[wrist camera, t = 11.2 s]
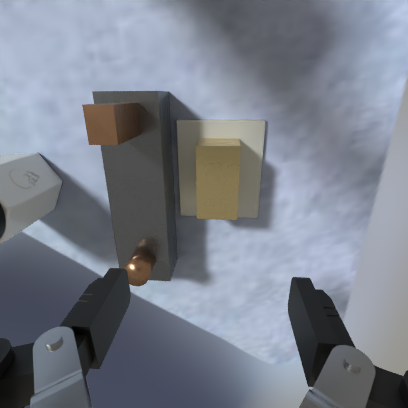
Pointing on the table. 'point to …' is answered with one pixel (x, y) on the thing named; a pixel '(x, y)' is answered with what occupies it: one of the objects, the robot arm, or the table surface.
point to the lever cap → (217, 178)
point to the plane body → (137, 178)
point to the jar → (25, 191)
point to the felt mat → (249, 160)
